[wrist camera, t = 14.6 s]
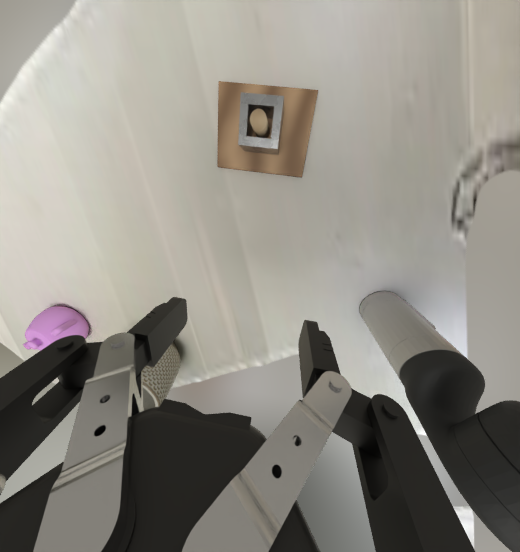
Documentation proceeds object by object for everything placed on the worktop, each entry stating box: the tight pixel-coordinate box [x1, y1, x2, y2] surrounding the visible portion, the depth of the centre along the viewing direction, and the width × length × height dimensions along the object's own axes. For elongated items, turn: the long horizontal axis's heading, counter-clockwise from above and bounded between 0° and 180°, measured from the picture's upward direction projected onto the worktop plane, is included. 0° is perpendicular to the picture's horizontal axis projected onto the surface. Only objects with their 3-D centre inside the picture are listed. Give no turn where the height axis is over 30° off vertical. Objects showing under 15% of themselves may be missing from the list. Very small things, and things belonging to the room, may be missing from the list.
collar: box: [238, 92, 284, 155], centre depth 29 cm, size 6×6×5 cm
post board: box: [218, 81, 318, 177], centre depth 29 cm, size 16×12×7 cm
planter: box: [142, 342, 181, 410], centre depth 51 cm, size 17×17×16 cm
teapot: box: [23, 306, 89, 350], centre depth 55 cm, size 14×20×11 cm
